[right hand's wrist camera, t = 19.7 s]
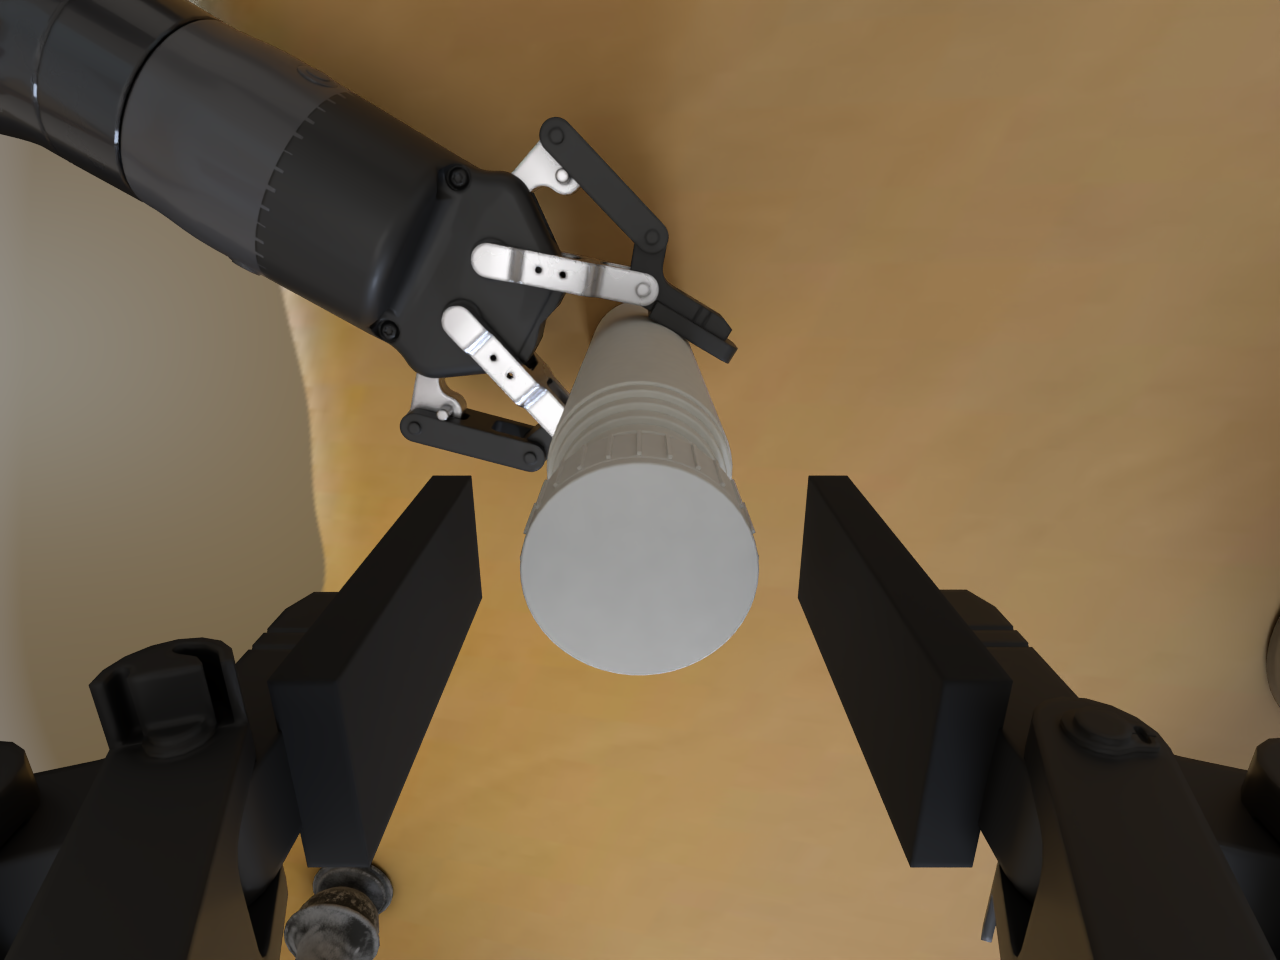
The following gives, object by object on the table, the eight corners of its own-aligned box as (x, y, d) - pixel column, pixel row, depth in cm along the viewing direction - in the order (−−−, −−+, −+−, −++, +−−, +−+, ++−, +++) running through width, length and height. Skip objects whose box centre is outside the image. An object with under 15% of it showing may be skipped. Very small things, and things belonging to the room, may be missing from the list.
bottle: (695, 384, 35) (781, 637, 14) (604, 404, 36) (552, 682, 14) (676, 290, 34) (740, 413, 12) (581, 312, 34) (483, 469, 13)
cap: (591, 655, 15) (585, 710, 14) (491, 485, 14) (471, 522, 12) (779, 578, 15) (797, 626, 13) (694, 392, 13) (702, 417, 12)
